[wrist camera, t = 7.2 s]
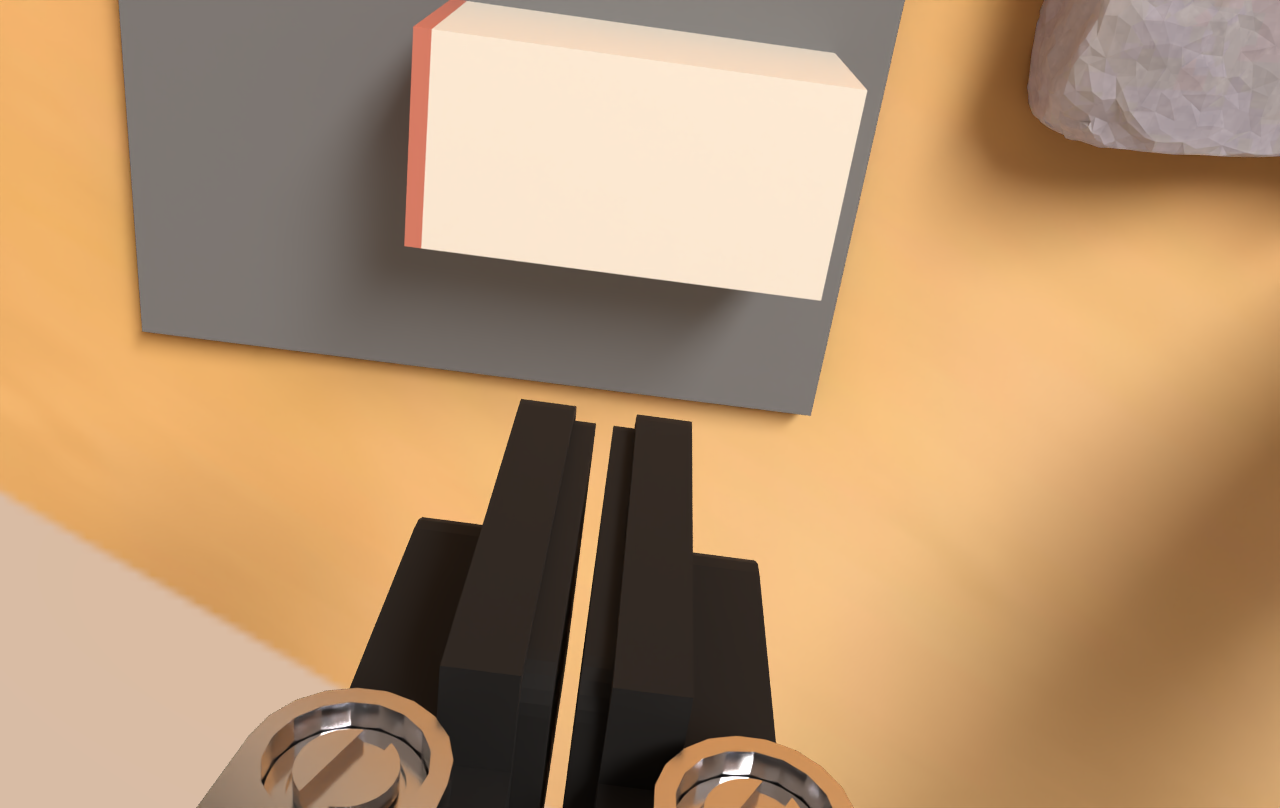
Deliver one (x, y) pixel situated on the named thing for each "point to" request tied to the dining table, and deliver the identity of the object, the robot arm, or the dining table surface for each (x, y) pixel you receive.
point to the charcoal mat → (376, 205)
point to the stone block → (1160, 75)
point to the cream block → (627, 148)
